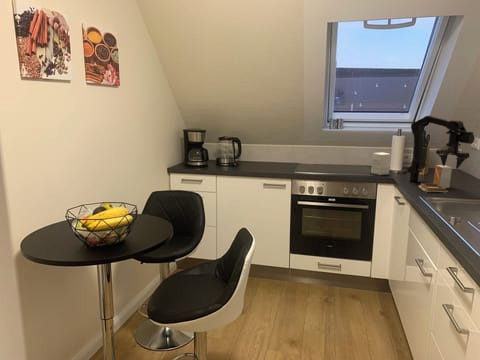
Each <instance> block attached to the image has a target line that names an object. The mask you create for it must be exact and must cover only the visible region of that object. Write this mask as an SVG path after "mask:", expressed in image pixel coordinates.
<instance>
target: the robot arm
mask: <svg viewBox="0 0 480 360" xmlns="http://www.w3.org/2000/svg"><path fill="white" fill-rule="evenodd" d="M429 124H434V125H438V126H441V127H444V128H446V129H447V130H448V131H446V132H445V134H446V135H449V136H448V142H446V143H445V146H443V147H441V148H437V149H436V151H435V154H436V155H437V156H438V157H439V158H440V160H441V165H443V166H445V165H446V163H447V159H448V156H449V155H451V156H456V157H455V159H456V165H455V169H456V170H458V169H459V167H461V165H462V164H463V163H464V161H466V160H467V159H469V158H470V155H471V154H470V153H469V152H463V151H462V152H461V151H460V150H459V148H460V147H459V146H461V144H468V145H472V144H473V143H474V142H475V138H476V137H475V135H474V131H467V130H466V128H465V126H464V122H463V121H462V120H455V119H454V120H450V119H445V118H440V117H436V116H432V115H426V116H424V117H422V118H421V119H418V120H416V121H414V122H412V123H411V125H410V128H411V129H410V130H411V133H412V135H413V158H412V161H411V165H410V166H409V167H408V168H407V169H406V170H407V173H409V178H407V181H408V182H410V183H421V181H420V180H419V179H420V173H422V172H423V170H424V169H426V168H425V167H426V166H427V164H426V163H427V160H426V159H424V158H423V135H424V133H425V131H426V127H427V126H429Z"/></svg>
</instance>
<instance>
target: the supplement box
mask: <svg viewBox="0 0 480 360" xmlns="http://www.w3.org/2000/svg"><path fill="white" fill-rule="evenodd" d="M391 156H392V155H391V153H387V152H383V151H382V152H372V159H371V170H370V171H371V172H370V173H371V174H375V175H378V176H383V175H389V174H390V166H391V165H390V164H391Z"/></svg>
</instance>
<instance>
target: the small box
mask: <svg viewBox="0 0 480 360" xmlns="http://www.w3.org/2000/svg"><path fill="white" fill-rule="evenodd" d="M452 169H453V167H450V166H448V165H446V164H445V166H443V165H442V164H435V169H434V176H433V183H432V184H439V185H441V186H442V187H444V188H446V189H447V188H448V189H449V188H450V184H451V176H452Z"/></svg>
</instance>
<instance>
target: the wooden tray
mask: <svg viewBox="0 0 480 360" xmlns="http://www.w3.org/2000/svg"><path fill="white" fill-rule="evenodd" d="M418 188H420V190H422V191H424V192H425V191H426V192H425V193H427V192H448V190H447V188H444V187H442V186H441V185H439V184H433V183H425V182H424V183H422V182H420V184H419V185H418Z"/></svg>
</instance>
